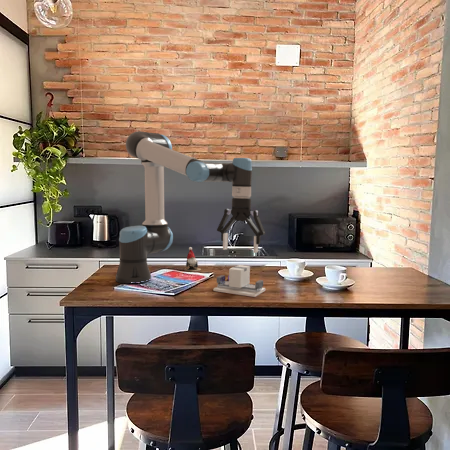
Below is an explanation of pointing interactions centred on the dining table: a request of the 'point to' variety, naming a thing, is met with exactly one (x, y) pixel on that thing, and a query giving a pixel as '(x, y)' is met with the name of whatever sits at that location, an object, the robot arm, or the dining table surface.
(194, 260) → the figurine
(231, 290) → the mount plate
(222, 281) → the rail
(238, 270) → the block
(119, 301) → the dining table surface
